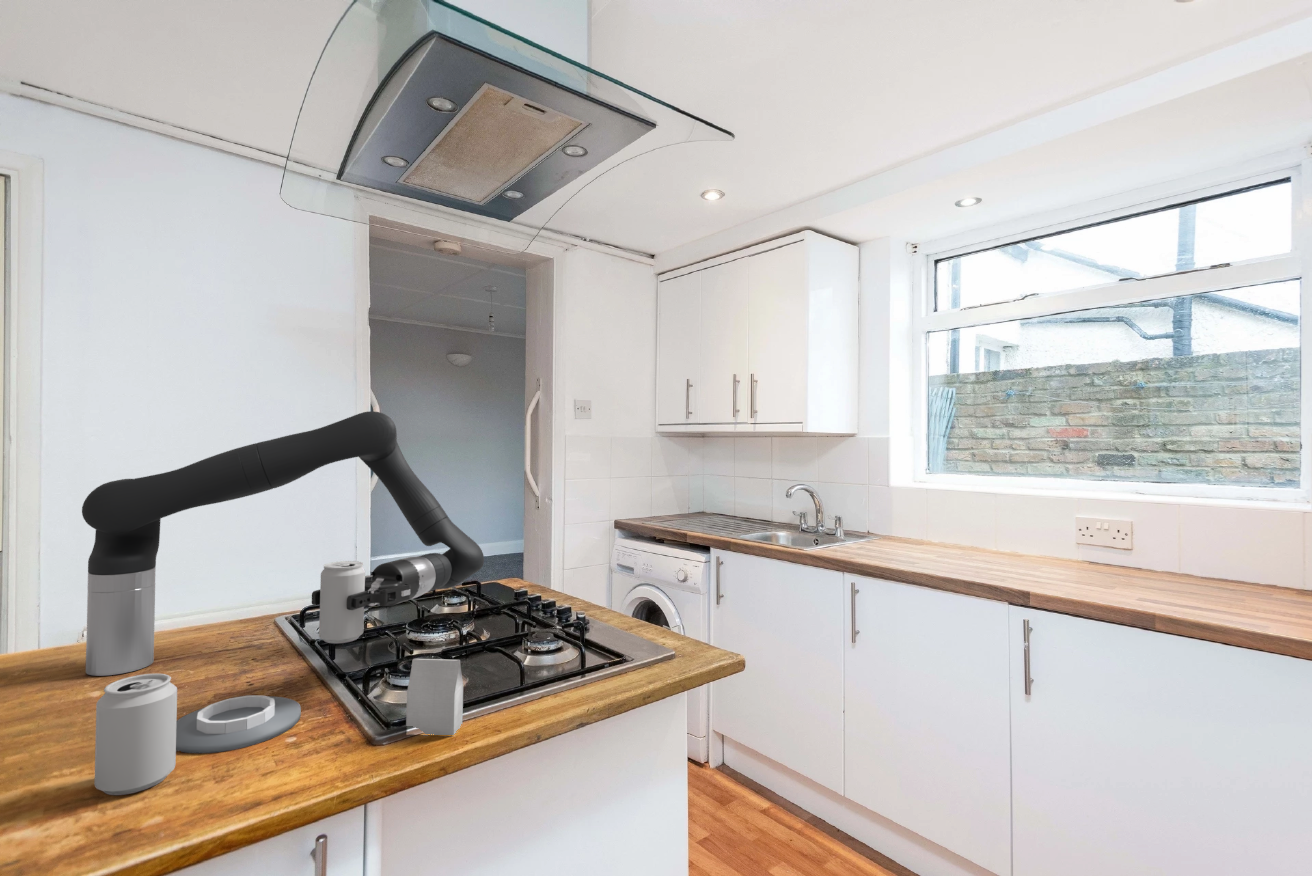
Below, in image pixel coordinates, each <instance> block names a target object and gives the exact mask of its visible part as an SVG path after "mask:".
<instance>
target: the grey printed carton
mask: <svg viewBox="0 0 1312 876" xmlns="http://www.w3.org/2000/svg"><path fill="white" fill-rule="evenodd" d="M463 681H464V680H463V675H462V666H461V659H444V658H440V659H439V658H413V659H412V662H411V669H410V673H409V681H408V685H407V689H406V690H407V691H406V714H405V715H406V720H405V727H406V726H413V727H416V728H419V729H420V730H421V731H423V732H424V733H425V734H430V735H431V734H432V735H433V734H434V735H454V734H455V733H456V734H457V732H458V731H459V730H460V728H461V727H462V726H461V724H462V725H463V712H464V711H463V710H464V708H463V707H464V682H463ZM460 726H461V727H460ZM458 729H459V730H458ZM457 730H458V731H457ZM456 731H457V732H456ZM456 734H455V735H456ZM455 735H454V736H455Z"/></svg>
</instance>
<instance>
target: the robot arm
mask: <svg viewBox="0 0 1312 876" xmlns="http://www.w3.org/2000/svg"><path fill="white" fill-rule="evenodd" d="M397 435H398V434H397V427H396V425H395V422H394V421H393V419H392V418H391V417H390V416H388V415H387V414H385V413H383V412H380V411H373V410H372V411H370V410H369V411H364V412H361V413H357V414H354V415H351V416H349V417H346V418H344V419H341V420H338V421H336V422H332V423H330V424H328V425H324V426H321V427H318V428H316V429H315V428H314V429H312V430H311V429H310V430H308V431H307V430H306V431H302V432H297V433H293V434H289V435H288V434H287V435H284V436H280V437H277V438H272V439H268V440H264V441H259V442H257V443H256V442H254V443H250V444H248V445H244V446H240V447H237V448H233V449H230V450H227V451H223V452H221V453H218V454H214V455H212V456H209V457H206V458H204V459H201V460H199V461H197V462H196V461H195V462H193V463H190V464H188V465H185V466H184V467H180V468H177V469H174V470H170V471H166V472H163V473H162V472H161V473H157V474H152V475H147V476H142V477H136V478H122V479H117V480H113V481H112V480H111V481H108V482H106V483H105V482H104V483H103V484H100V485H99V486H97V487H96V488H94V489H93V490H92V491H90V493H89V494H88V495H87V496H86V498H85V500H84V501H83V504H82V507H81V515H82V518H83V520H84V521H85V523H86V524H87V525H88V526H90V527H91V528H93V529H95V534H94V536H95V537H94V545H93V547H92V550H91V553H90V555H89V556H88V562H87V596H86V597H87V602H86V603H87V604H86V608H87V609H86V641H85V642H86V644H85V646H86V647H85V649H86V650H85V674H87V675H89V676H97V677H98V676H99V677H100V676H101V677H103V676H112V675H113V676H114V675H121V674H125V673H126V674H128V673H130V672H135V671H138V670H141V669H143V668H147V667H148V666H151V665H152V664H153V663H154V660H155V659H154V657H155V655H154V654H155V653H154V652H155V618H156V617H155V615H156V614H155V613H156V612H155V611H156V607H155V606H156V568H157V567H156V565H157V555H158V552H159V549H160V548H159V547H160V539H161V538H160V536H161V520H162V518H166V517H169V516H171V515H174V514H177V513H180V512H183V511H186V510H189V509H190V510H191V509H193V508H197V507H198V508H199V507H202V506H203V507H204V506H208V505H213V504H214V505H215V504H218V503H220V504H221V503H223V502H229V501H233V500H236V499H237V500H238V499H241V498H245V497H246V498H247V497H249V496H253V495H256V494H260V493H265V492H266V491H270V490H273V489H277V488H279V487H282V486H285V485H287V484H290V483H292V482H294V481H295V482H296V480H298V479H301V478H302V477H304V476H306V475H308V474H310V473H312V472H314V471H315V470H317V469H320V468H322V467H324V466H327V465H329V464H333V463H336V462H337V463H338V462H342V461H345V460H349V459H354V458H359V459H360V460H361V461H362V462H363V463H364V464H365V465H366V466H367V467H368V468H369V469H370V470H371V471H372V472H373V474H374V475H376V477H377V478H378V479H379V481H381V483H382V484H383V485H384V486H385V488H386V490H387V491H388V492H389V494H390V496H391V497H392V498H393V501H394V502H395V503H396V505H397V506H398V508H399V510H400V511H401V514H402V515H403V516H404V518H405V520H406V521H407V522H408V524H409V526H411V529H412V530H413V531H414V533H415V535H416V536H417V538H418V539H419V541H420V542H421V543H422V544H423V545H424V546H426V547H432V546H435V545H437V544H444V546H446V547H448V548H449V549H448V550H447V551H445V552H443V553H442V554H441V553H440V552H439V553H438V552H430V553H425V554H423V555H418V556H409V557H405V558H404V557H403V558H400V559H396V560H393V561H388V562H383V563H380V564H379V565H378V566H376V567H375V568H374V569H373V570H372V572H371V574H368V575H365V591H363V592H360V593H357V594H353V595H350V596H348V597H347V609H348V610H355V609H358V608H361V607H364V608H365V607H367V606H368V607H374V606H376V605H379V606H380V607H392V606H395V605H398V604H399V605H400V604H401V603H403V602H407V601H410V600H413V599H417V598H418V597H421V596H422V595H425V594H426V593H430V592H432V591H435V590H446V589H450V588H453V587H455V586H457V585H459V584H460V583H462V582H463V581H465V580H466V579H467V580H468V579H469V578H470V577H472V576H473V575H474V574H476V573H477V572H479V571H480V570H481V569H482V568H483V566H484V562H485V557H484V553H483V550H482V548H481V546H479V544H477V542H476V541H474V539H472V538H471V537H470V536H468V535H467V534H466V533H465V532H464V531H463V530H462V529H460V528H459V527H458V526H457V525H456V524H455V523H454V522H453V521H452V519H450V517H449V516H448V514H447V513H446V511H445V510H444V508H443V507H442V506H441V504H440V503H439V501H438V500H437V498H436V496H434V494H432V492H431V491H430V490H429V489H428V488H427V487H426V485H425V484H424V483H423V482H422V480H420V479H419V477H418V476H417V475H416V474H415V472H414V471H413V469H412V468H411V466H410V465H409V463H408V462H407V460H406V458H405V456H404V454H403V452H402V450H401V448H400V446H399V443H398V439H397V438H398V436H397ZM311 605H313V606H320V589H317V590H313V592H312V593H311Z"/></svg>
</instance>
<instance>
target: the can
mask: <svg viewBox="0 0 1312 876" xmlns="http://www.w3.org/2000/svg"><path fill="white" fill-rule="evenodd" d="M171 679H172V677H171V676H170V675H168V674H164V673H144V674H137V675H134V676H128V677H123V678H121V679H118V680H116V681H114V682H111V683H108V685H106V686H105V687H104V689H103V692H104V694H103V695H102V696H101V697H100V698H99V699H98V700H97V702H96V703H95V704H96V705H95V706H96V708H95V743H94V744H95V746H94V747H95V752H94V755H95V756H94V784H93V785H94V787H95V788H96V790H99V791H101V792H103V793H104V794H106V795H110V796H123V795H129V794H135V793H138V792H141V791H145V790H147V789H150V788H152V787H155V786H157V785H158V784H160V783H161V782H163V781H164V780H165V779H166V778H167V777H168V776H169V774H171V772H172V771H174V770H175V768H176V760H177V759H176V758H177V757H176V756H177V751H176V721H177V720H178V719H177V717H178V716H177V715H178V712H177V711H178V687H177V686H176V685H175V684H174V683H172V682H171Z"/></svg>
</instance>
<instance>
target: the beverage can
mask: <svg viewBox="0 0 1312 876" xmlns="http://www.w3.org/2000/svg"><path fill="white" fill-rule="evenodd" d="M363 563H364V562H362V561H358V560H357V561H356V560H343V561H341V560H340V561H333V562H328V563H325V564H323V569H322V571H321V573H320V586H319V587H320V589H319V590H320V605H319V620H318V621H319V627H318V628H319V629H318V632H319V633H318V637H319V639H321V640H322V641H324V642H325V643H329V644H344V643H350V642H353V641H357V639H359V637H360V636H362V635H363V634H364V625H365V623H364V622H365V606H364V607H361V608H358V609H355V610H348V609H347V597H348V596H350V595H353V594H357V593H360V592H363V591H365V576H366V570H365V568H364V567H363V566H364V564H363Z"/></svg>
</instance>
